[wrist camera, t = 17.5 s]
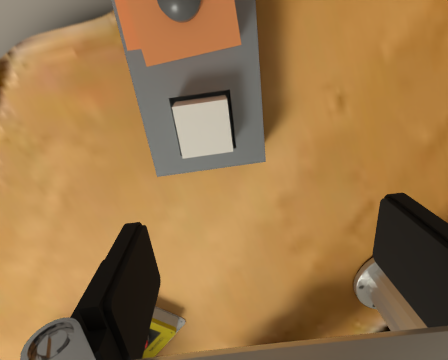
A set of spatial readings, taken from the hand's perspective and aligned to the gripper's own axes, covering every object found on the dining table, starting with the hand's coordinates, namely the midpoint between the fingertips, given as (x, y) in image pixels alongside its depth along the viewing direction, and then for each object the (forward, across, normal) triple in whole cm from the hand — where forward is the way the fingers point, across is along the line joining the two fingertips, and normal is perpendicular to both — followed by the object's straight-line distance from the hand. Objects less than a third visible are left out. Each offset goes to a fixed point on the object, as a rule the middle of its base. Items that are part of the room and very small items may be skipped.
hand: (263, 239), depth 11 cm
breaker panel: (+22, +3, -6) cm, 23 cm away
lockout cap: (+18, +3, -11) cm, 21 cm away
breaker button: (+19, +3, -1) cm, 19 cm away
